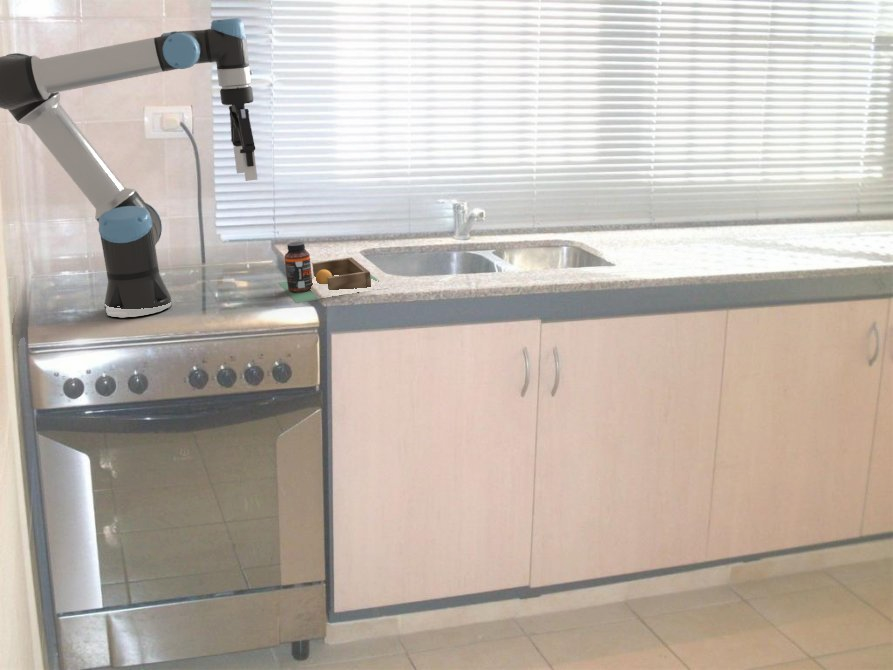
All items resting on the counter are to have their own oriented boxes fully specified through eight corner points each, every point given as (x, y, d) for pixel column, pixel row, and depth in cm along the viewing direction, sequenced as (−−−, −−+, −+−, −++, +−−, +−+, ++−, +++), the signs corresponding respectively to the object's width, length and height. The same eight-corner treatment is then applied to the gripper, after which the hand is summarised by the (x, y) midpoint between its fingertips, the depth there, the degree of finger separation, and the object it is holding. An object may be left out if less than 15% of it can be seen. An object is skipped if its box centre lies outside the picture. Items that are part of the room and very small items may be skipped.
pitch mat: (296, 304, 256) (296, 302, 255) (279, 284, 275) (279, 282, 275) (388, 289, 262) (388, 287, 262) (365, 271, 281) (365, 269, 281)
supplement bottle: (308, 292, 263) (303, 246, 260) (284, 293, 264) (279, 246, 261) (316, 286, 269) (311, 240, 265) (293, 286, 270) (287, 240, 267)
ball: (325, 267, 265) (335, 280, 266) (325, 264, 269) (335, 277, 270) (311, 278, 266) (322, 290, 267) (312, 274, 269) (322, 287, 270)
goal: (330, 294, 260) (328, 278, 259) (313, 278, 276) (312, 263, 275) (371, 288, 263) (369, 272, 262) (353, 272, 279) (351, 257, 278)
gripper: (260, 88, 253) (271, 181, 259) (243, 82, 275) (253, 168, 282) (227, 91, 250) (239, 185, 257) (212, 85, 273) (224, 171, 279)
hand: (246, 176), depth 269 cm, fingers open, 13 cm apart
